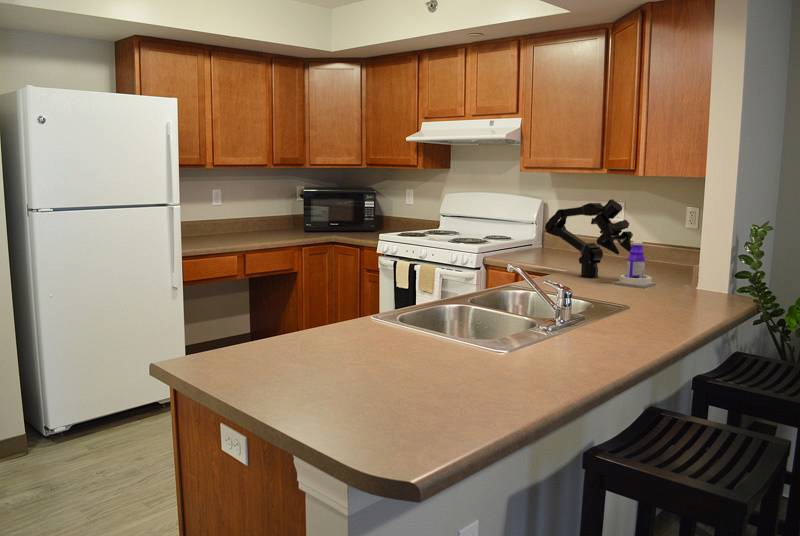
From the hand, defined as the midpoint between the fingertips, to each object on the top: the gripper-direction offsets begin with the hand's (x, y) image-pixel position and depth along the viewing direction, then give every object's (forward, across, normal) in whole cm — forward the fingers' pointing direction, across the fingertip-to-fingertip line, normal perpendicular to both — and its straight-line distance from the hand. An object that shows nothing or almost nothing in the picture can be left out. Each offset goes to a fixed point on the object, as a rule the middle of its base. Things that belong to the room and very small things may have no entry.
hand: (625, 253), depth 290 cm
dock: (+13, 0, +5) cm, 14 cm away
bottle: (+12, 0, +4) cm, 13 cm away
